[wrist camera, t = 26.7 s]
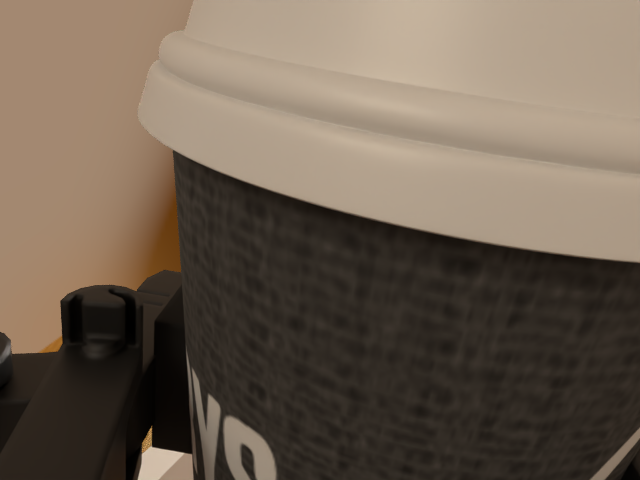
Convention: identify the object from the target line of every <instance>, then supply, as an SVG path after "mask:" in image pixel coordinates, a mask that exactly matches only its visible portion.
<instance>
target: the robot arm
mask: <svg viewBox="0 0 640 480" xmlns="http://www.w3.org/2000/svg"><path fill="white" fill-rule="evenodd" d="M61 320H62V340H63V344H62V345H61V347H60V349H59V351H58V352H49V353H26V354H12V351H11V340H10V339H9V338H8V337H7V336H6V335H5V334H4V333H1V332H0V480H138V476H139V472H140V468H141V464H142V442H143V440H144V439H145V437H146V435H147V433H148V432H149V430H150V428H151V426H152V447H153V448H159V449H164V450H170V451H176V452H181V453H187V454H192V444H191V426H190V409H189V391H188V374H187V357H186V340H185V324H184V307H183V291H182V276H181V273H180V272H174V271H168V270H163V271H161V272H159V273H157V274H155V275H153V276H151V277H149V278H147V279H146V280H145V281H144V282H143V283H142V285H141V286H140V287H139V288H138V289H137V291H134V290H131V289H129V288H127V287H122V286H115V285H95V286H90V287H85V288H80V289H78V290H76V291H74V292H71V293H69V294H67V295H66V296H65V297H64V298H63V299H62V300H61ZM621 480H640V449H639V451H638V452H637V454H636V455H635V457H634V458H633V460H632V461H631V463H630V465H629V466H628V468H627V470H626V471H625V473H624V475H623V477H622V478H621Z"/></svg>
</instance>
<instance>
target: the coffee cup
mask: <svg viewBox="0 0 640 480" xmlns="http://www.w3.org/2000/svg"><path fill="white" fill-rule="evenodd" d="M159 58H160V59H159V60H157V61H155V62H154V63H153V64H152V65H151V67H150V69H149V72H148V75H147V78H146V82H145V86H144V90H143V94H142V97H141V101H140V104H139V107H138V111H137V115H138V119H139V121H140V123H141V124H142V126H143V127H144V128H145V129H146V131H147V132H148V133H150V134H151V135H152V136H153V137H154V138H156V139H157V140H158V141H160V142H161V143H163V144H164V145H166V146H167V147H169V148H171V149H173V157H174V171H175V186H176V199H177V214H178V229H179V244H180V260H181V276H182V291H183V307H184V324H185V340H186V357H187V374H188V391H189V409H190V426H191V444H192V463H193V480H621V478H622V477H623V475H624V473H625V471H626V470H627V468H628V466H629V465H630V463H631V461H632V460H633V458H634V457H635V455H636V454H637V452H638V451H639V449H640V0H194V1H193V4H192V7H191V11H190V14H189V18H188V21H187V24H186V28H185V30H181V31H176V32H172V33H170V34H168V35H167V36H166V37H165V38H164V39H163V40H162V42H161V45H160V48H159Z"/></svg>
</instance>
